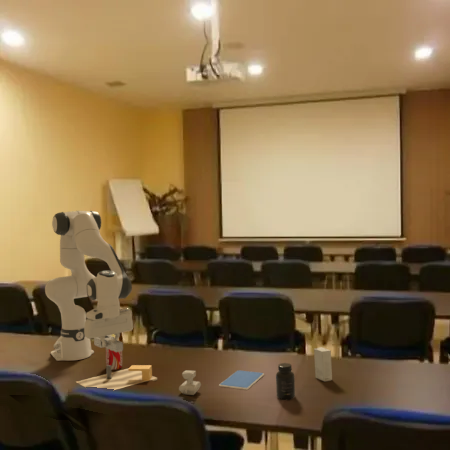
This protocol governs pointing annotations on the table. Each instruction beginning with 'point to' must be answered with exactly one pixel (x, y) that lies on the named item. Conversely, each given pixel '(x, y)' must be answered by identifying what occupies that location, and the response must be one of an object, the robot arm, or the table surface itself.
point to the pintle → (108, 371)
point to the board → (115, 380)
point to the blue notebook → (242, 380)
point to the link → (109, 343)
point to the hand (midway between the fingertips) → (110, 345)
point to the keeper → (143, 370)
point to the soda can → (114, 359)
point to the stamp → (189, 383)
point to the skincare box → (323, 364)
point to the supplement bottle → (285, 382)
